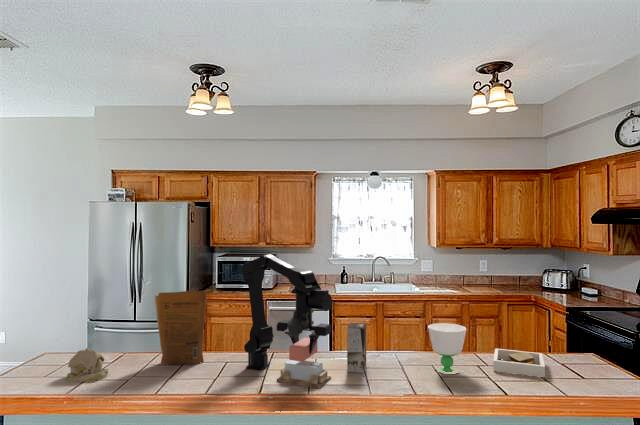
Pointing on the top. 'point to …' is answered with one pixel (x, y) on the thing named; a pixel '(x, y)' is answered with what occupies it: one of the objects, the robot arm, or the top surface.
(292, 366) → the pale blue slab
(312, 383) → the jig
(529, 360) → the toy sandwich meal
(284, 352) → the top surface
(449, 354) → the cup
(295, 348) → the salmon pink slab
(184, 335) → the pancake mix bag
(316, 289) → the robot arm
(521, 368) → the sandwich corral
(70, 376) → the ceramic model
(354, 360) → the coffee box
